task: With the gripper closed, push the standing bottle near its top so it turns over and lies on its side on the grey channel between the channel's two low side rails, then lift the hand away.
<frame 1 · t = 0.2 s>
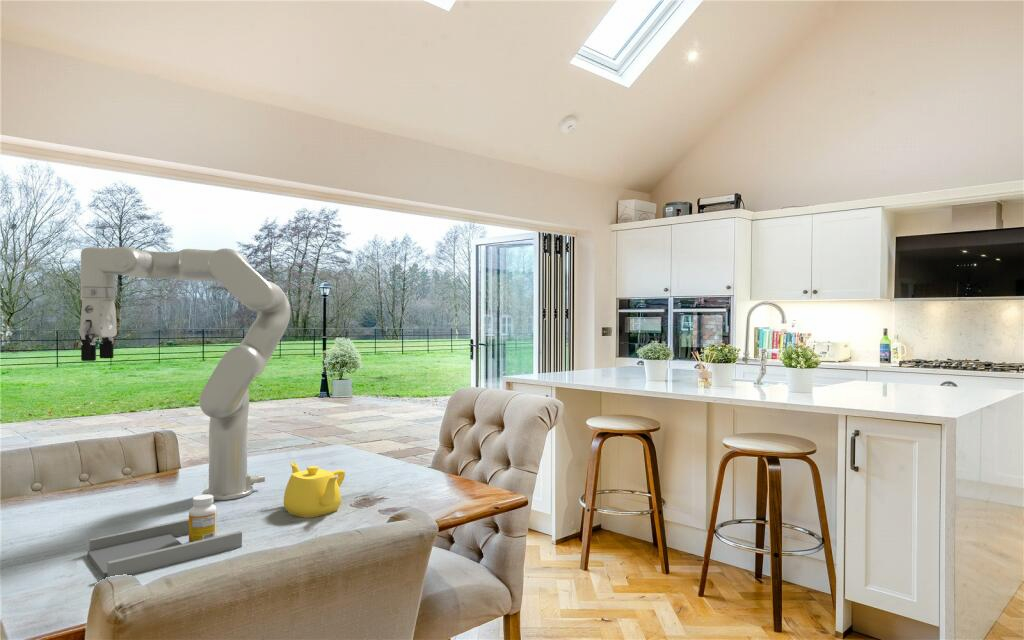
hand: (97, 359, 162), 37 cm above the table, tool pointing down, fingers open, 9 cm apart
teapot: (317, 509, 156), on the table
grey channel: (150, 553, 125), on the table
supplement bottle: (202, 542, 132), on the table
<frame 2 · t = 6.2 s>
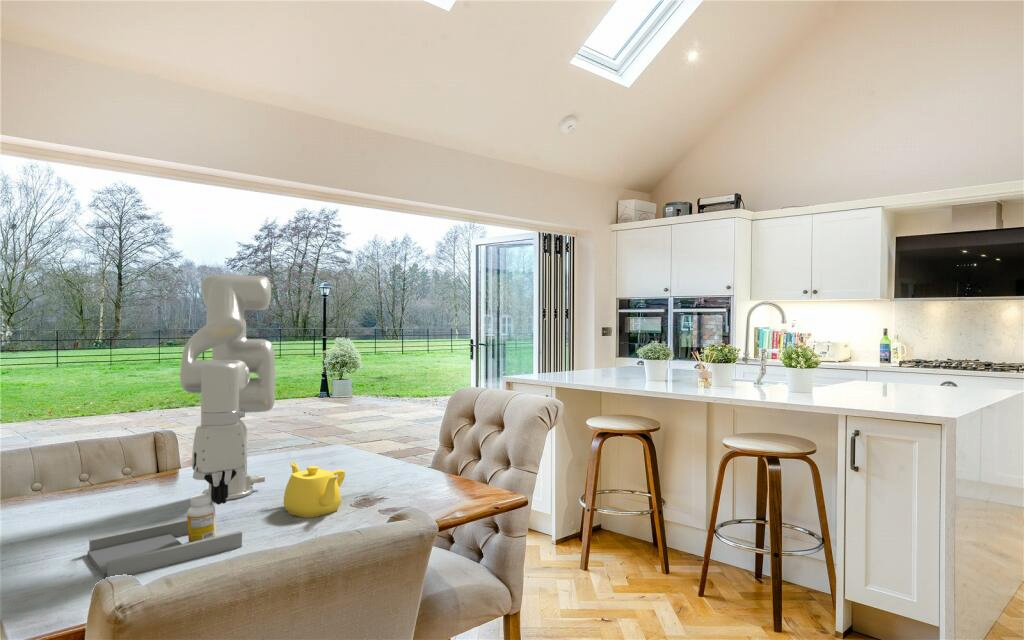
hand: (219, 502, 134), 8 cm above the table, tool pointing down, fingers closed
supplement bottle: (202, 541, 132), on the table, touching gripper
everything else where it was.
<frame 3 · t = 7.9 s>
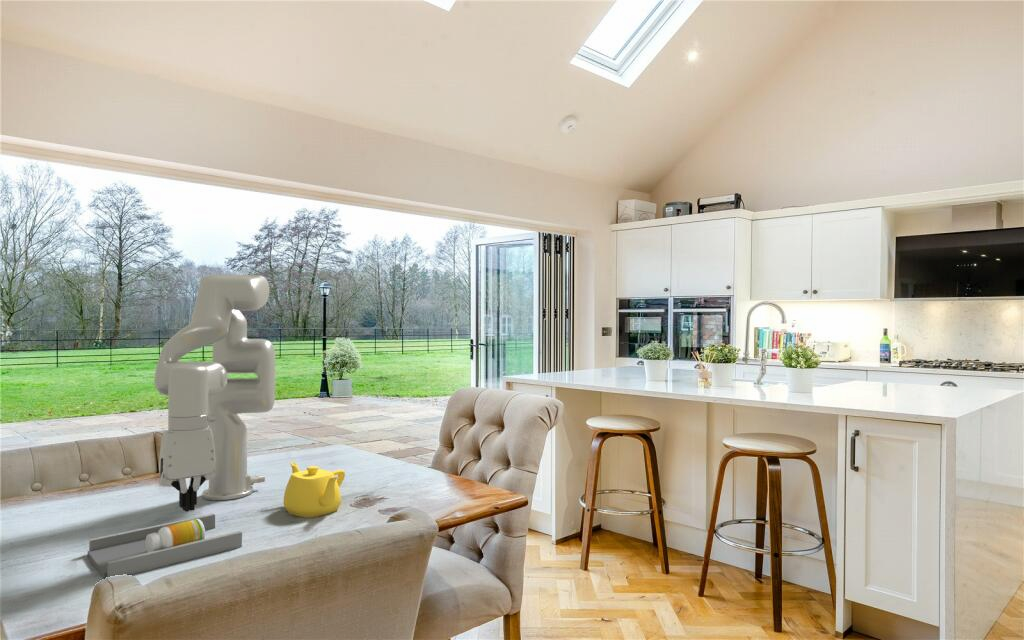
hand: (188, 509, 130), 8 cm above the table, tool pointing down, fingers closed
supplement bottle: (201, 531, 128), point 4 cm above the table, touching grey channel
everything else where it was.
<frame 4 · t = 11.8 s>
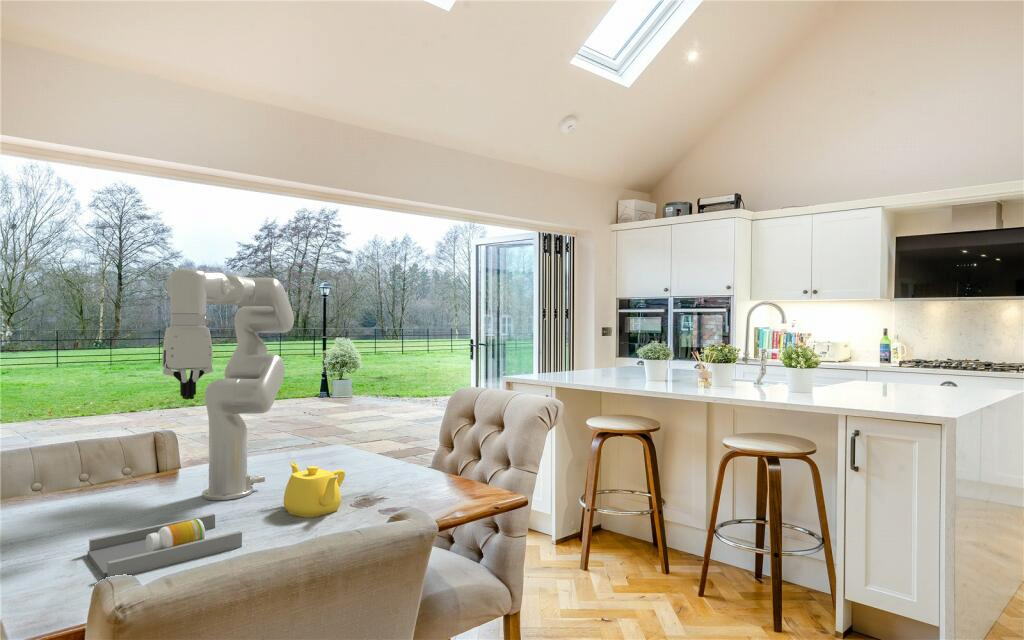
hand: (188, 398, 146), 29 cm above the table, tool pointing down, fingers closed
nothing on the table moved.
at the end: supplement bottle tilted 90°; supplement bottle touching grey channel; supplement bottle inside the target area (6.7 cm from its centre), point 3.7 cm above the table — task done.
